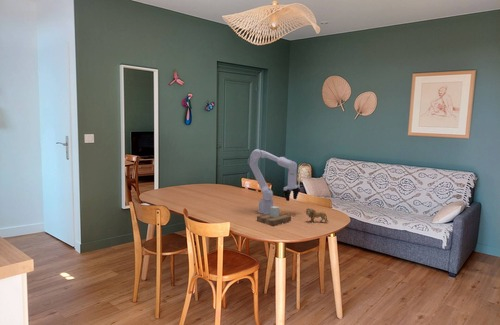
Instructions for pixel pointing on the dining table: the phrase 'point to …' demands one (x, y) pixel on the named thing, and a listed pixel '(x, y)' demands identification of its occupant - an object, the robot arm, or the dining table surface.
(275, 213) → the grey block
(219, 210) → the dining table surface
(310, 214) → the lion figurine
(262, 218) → the walnut plinth
